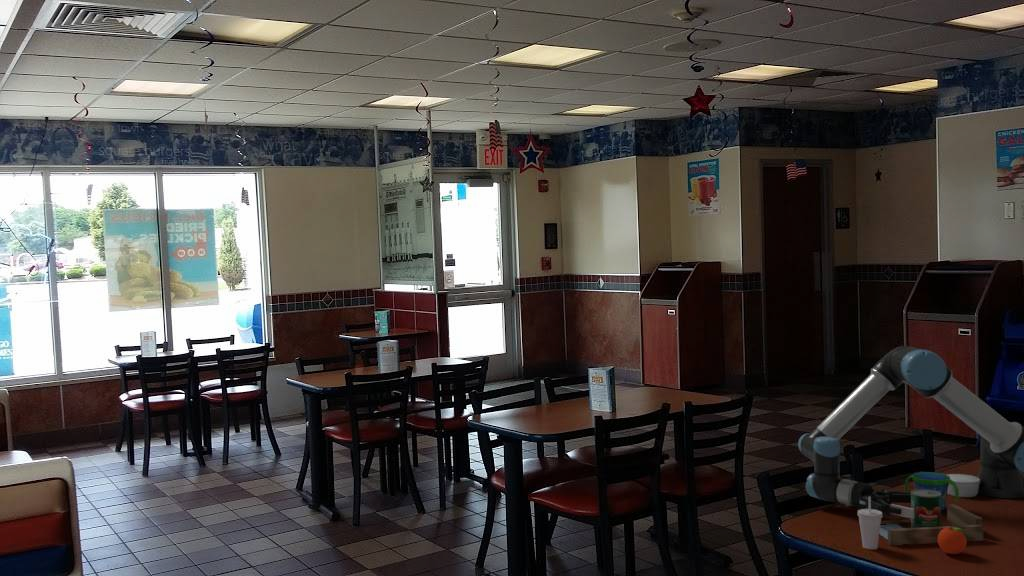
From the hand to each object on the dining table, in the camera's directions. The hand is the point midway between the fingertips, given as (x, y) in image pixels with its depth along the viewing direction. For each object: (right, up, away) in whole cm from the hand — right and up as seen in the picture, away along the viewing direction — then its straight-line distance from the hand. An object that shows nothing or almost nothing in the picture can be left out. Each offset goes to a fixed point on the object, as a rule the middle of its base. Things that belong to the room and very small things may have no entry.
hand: (925, 508), depth 255 cm
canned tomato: (0, -7, +1) cm, 7 cm away
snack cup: (+12, -5, +22) cm, 25 cm away
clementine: (-1, -7, -19) cm, 20 cm away
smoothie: (-21, -8, -12) cm, 25 cm away
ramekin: (+29, -4, +37) cm, 47 cm away
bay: (-1, -6, -1) cm, 7 cm away
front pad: (-9, -7, -1) cm, 12 cm away
